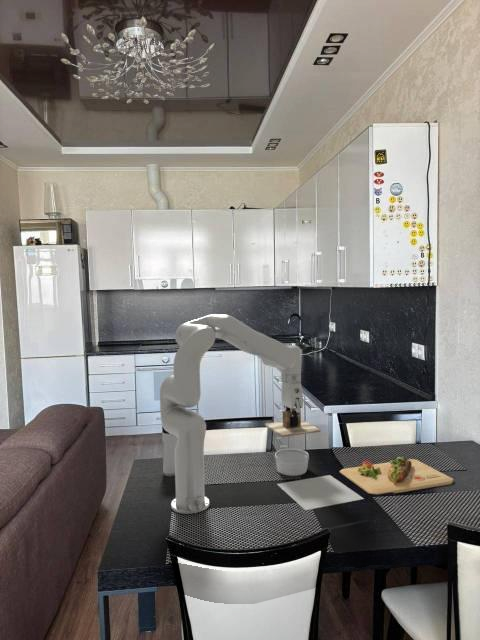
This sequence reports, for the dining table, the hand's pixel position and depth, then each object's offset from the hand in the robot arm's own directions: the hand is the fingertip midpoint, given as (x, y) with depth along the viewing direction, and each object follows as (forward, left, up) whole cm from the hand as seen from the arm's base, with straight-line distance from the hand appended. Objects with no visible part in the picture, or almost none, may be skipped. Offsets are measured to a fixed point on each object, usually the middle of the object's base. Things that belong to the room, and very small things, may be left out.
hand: (291, 424), depth 185 cm
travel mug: (+16, +44, -19) cm, 51 cm away
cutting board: (-20, -33, -19) cm, 43 cm away
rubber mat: (-21, 0, -19) cm, 28 cm away
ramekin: (0, 0, -19) cm, 19 cm away
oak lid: (0, 0, -2) cm, 2 cm away
